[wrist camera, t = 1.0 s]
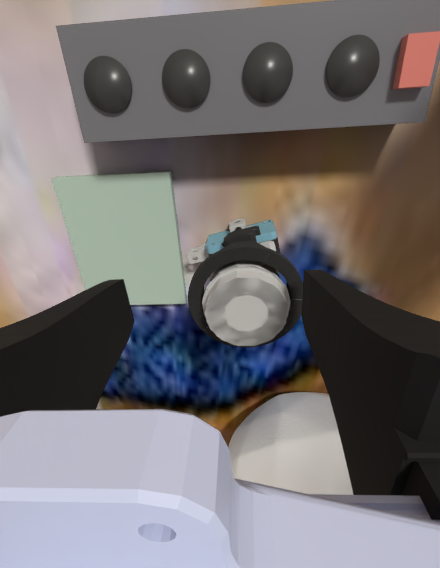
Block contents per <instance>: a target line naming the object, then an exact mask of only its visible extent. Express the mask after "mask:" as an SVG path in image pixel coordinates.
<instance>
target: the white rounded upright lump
mask: <svg viewBox="0 0 440 568" xmlns="http://www.w3.org/2000/svg"><path fill="white" fill-rule="evenodd" d="M228 448H229V450H230V455H231V465H232V473H233V476H234V478H236V479H240V480H245V481H250V482H254V483H259V484H264V485H268V486H273V487H277V488H282V489H287V490H291V491H296V492H301V493H305V494H328V495H353V491H352V486H351V481H350V477H349V473H348V468H347V464H346V460H345V456H344V451H343V447H342V443H341V439H340V435H339V431H338V427H337V423H336V419H335V416H334V412H333V408H332V405H331V401H330V397H329V394H326V393H319V392H293V393H286V394H280V395H277V396H275V397H273V398H272V399H270V400H268V401H267V402H265V403H264V404H262V405H261V406H259V407H258V408H256V409H255V410H254V411H253V412H252V413H250V414H249V415H248V416H247V417H246V418H245V419H244V421H243V422H242V423H241V424H240V425H239V426H238V428H237V429H236V430H235V432H234V433H233V435H232V438H231V440H230V443H229V446H228Z"/></svg>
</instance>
